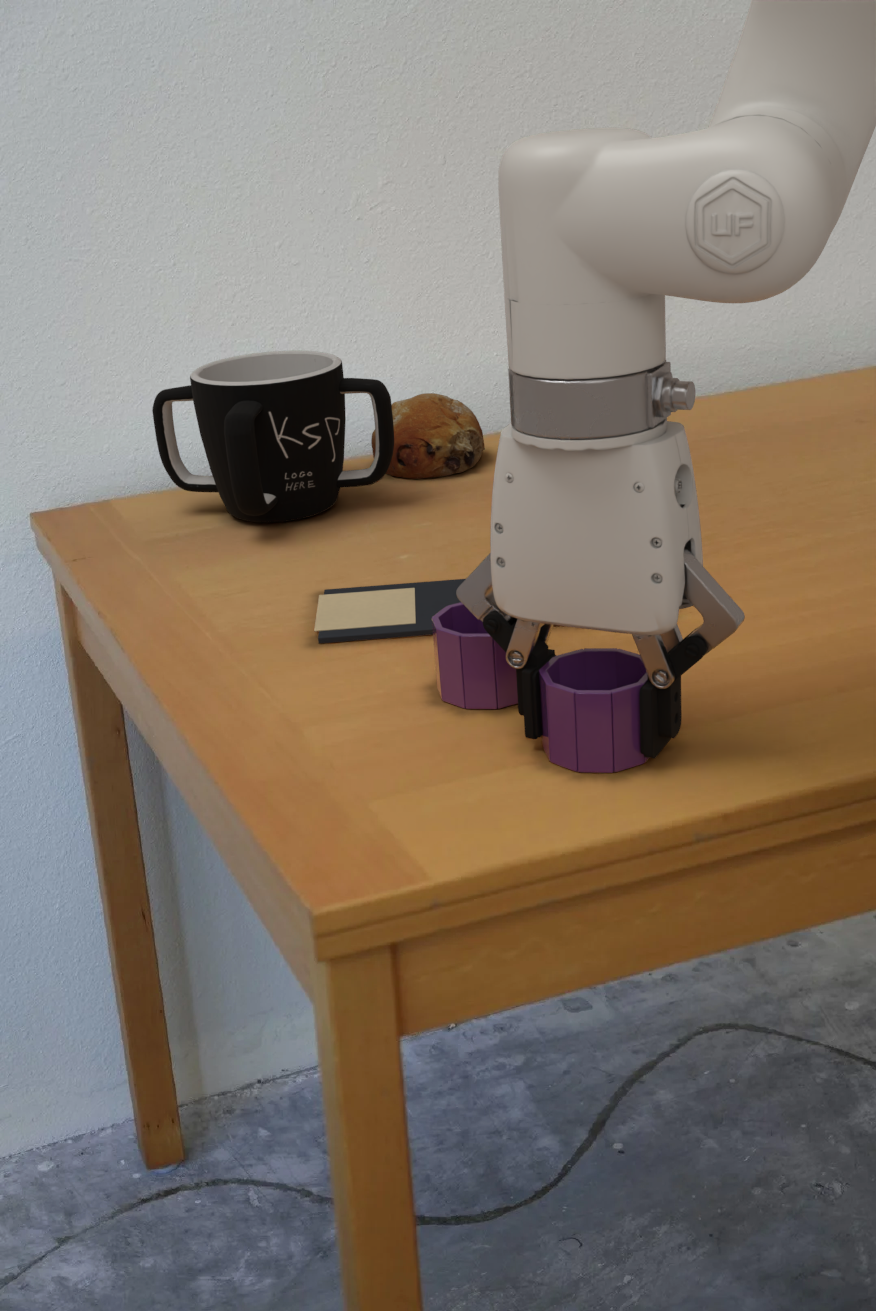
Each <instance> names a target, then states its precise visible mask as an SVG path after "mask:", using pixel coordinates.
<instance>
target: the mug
mask: <svg viewBox="0 0 876 1311" xmlns="http://www.w3.org/2000/svg"><path fill="white" fill-rule="evenodd" d="M189 382H190V385H183V386H177V387H169V388H166V389H162V390H161V391H159V392H158V393H157V394H156V396H155V397H154V400H153V404H152V419H153V425H154V426H153V427H154V434H155V439H156V444H157V450H158V454H159V457H160V461H161V463H162V466H163V468H164V470H165V472H166V473H167V475H168V477H169V478H170V480H171V481H172V483H174V484H175V485H176V486H177V487H178V488H180V489H182V490H183V491H186V492H192V493H194V492H195V493H218V495H219V497H220V499H221V501H222V503H223V505H224V507H225V510H226V511H227V512H228V513H229V514H230V516H232V517H234V518H236V519H239V520H242V521H246V522H251V523H252V522H253V523H283V522H290V521H296V520H302V519H306V518H309V517H313V516H316V515H319V514H322V513H324V512H325V511H327V510H329V509H331V507H332V506H334V505H335V504H336V502H337V501H338V498H339V495H340V489H343V488H344V489H345V488H354V487H355V488H356V487H364V486H371V485H373V484H375V483H376V484H377V482H379V481H381V480H382V479H383V478H384V476H385V475H387V474H386V472H387V470H388V468H389V465H390V462H391V459H392V456H393V450H394V425H393V414H392V398H391V394H390V392H389V390H388V388H387V386H386V384H384V382H382V381H381V380H379V379H374V378H359V377H344V367H343V361H342V359H341V358H340V357H338V356H336V355H335V354H333V353H328V352H323V351H317V350H299V349H297V350H296V349H295V350H271V351H262V352H261V351H260V352H253V353H247V354H239V355H234V356H230V357H226V358H221V359H218V360H214V361H211V362H208V363H206V364H203V365H201V366H199V367H197V368H196V369H195V370H193V371H192V372H191V373H190V376H189ZM346 394H347V395H348V394H351V395H352V394H367V395H369V397H370V400H371V405H372V412H373V421H374V430H375V435H376V452H375V457H373V460H372V463H371V464H370V466H369V467H368V468H362V469H361V468H360V469H349V470H344V463H345V462H344V461H345V444H346V443H345V442H346V418H347V417H346ZM175 402H193V408H194V412H195V416H196V421H197V425H198V431H199V436H200V439H201V442H202V445H203V449H204V453H205V455H206V459H207V463H208V466H209V471H210V473H211V475H199V474H193V473H191V471H189V470H188V469H187V466H185V463H184V462H183V460H182V458H181V455H180V451H179V447H178V441H177V437H176V436H177V435H176V431H175V423H174V415H173V414H174V413H173V403H175Z"/></svg>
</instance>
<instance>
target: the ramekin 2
mask: <svg viewBox="0 0 876 1311" xmlns="http://www.w3.org/2000/svg"><path fill="white" fill-rule="evenodd" d="M556 655H557V654H556ZM647 681H648V674H647V671H646V669H645V666H644V664H643V661H642V659H641V656H640V654H639V653H636V652H632V651H629V650H625V649H622V648H617V647H616V648H615V647H611V648H610V647H608V648H606V647H600V648H597V647H596V648H594V647H592V648H591V647H590V648H589V647H588V648H587V647H586V648H579V649H576V650H573V651H572V650H571V651H568V652H565V653H560V654H558V655H557V656H554V657H552V658H551V659H550V660H549V661H548V662H547V663H546V664H545V665H544V666H543V667H541V668H540V669H539V683H540V703H541V722H542V736H541V738H542V740H541V742H542V748H543V750H544V752H545V755H546V756H547V758H548V760H549V762H550V763H552V764H554V765H557V766H560V767H562V768H564V769H568V770H570V771H573V772H576V773H577V772H578V773H596V774H599V773H601V774H602V773H603V774H605V773H606V774H612V773H618V772H621V771H624V770H627V769H631V768H634V767H637V766H641V765H643V764H645V763H647V761H649V759H650V758H648V757H644V754H641V744H640V699H639V693H640V688H641V687H642V686H643V685H644V684H645V683H646V682H647Z"/></svg>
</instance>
